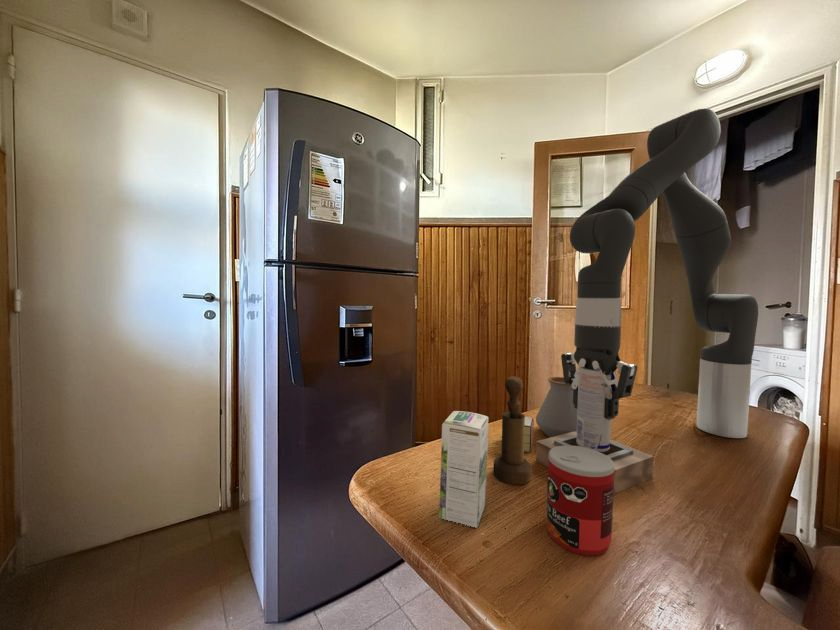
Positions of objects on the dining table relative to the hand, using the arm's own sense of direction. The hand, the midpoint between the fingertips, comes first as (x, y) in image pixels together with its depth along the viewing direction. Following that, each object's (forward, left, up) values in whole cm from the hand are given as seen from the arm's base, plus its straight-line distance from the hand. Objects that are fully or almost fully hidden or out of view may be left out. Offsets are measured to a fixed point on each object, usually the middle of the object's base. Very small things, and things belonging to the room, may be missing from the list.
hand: (594, 412), depth 64 cm
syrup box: (+29, 0, -11) cm, 31 cm away
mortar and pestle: (+15, -5, -11) cm, 19 cm away
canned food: (+18, +11, -11) cm, 24 cm away
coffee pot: (-13, -15, -11) cm, 23 cm away
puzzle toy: (+5, -14, -11) cm, 19 cm away
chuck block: (0, 0, -11) cm, 11 cm away
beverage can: (0, 0, -7) cm, 7 cm away
